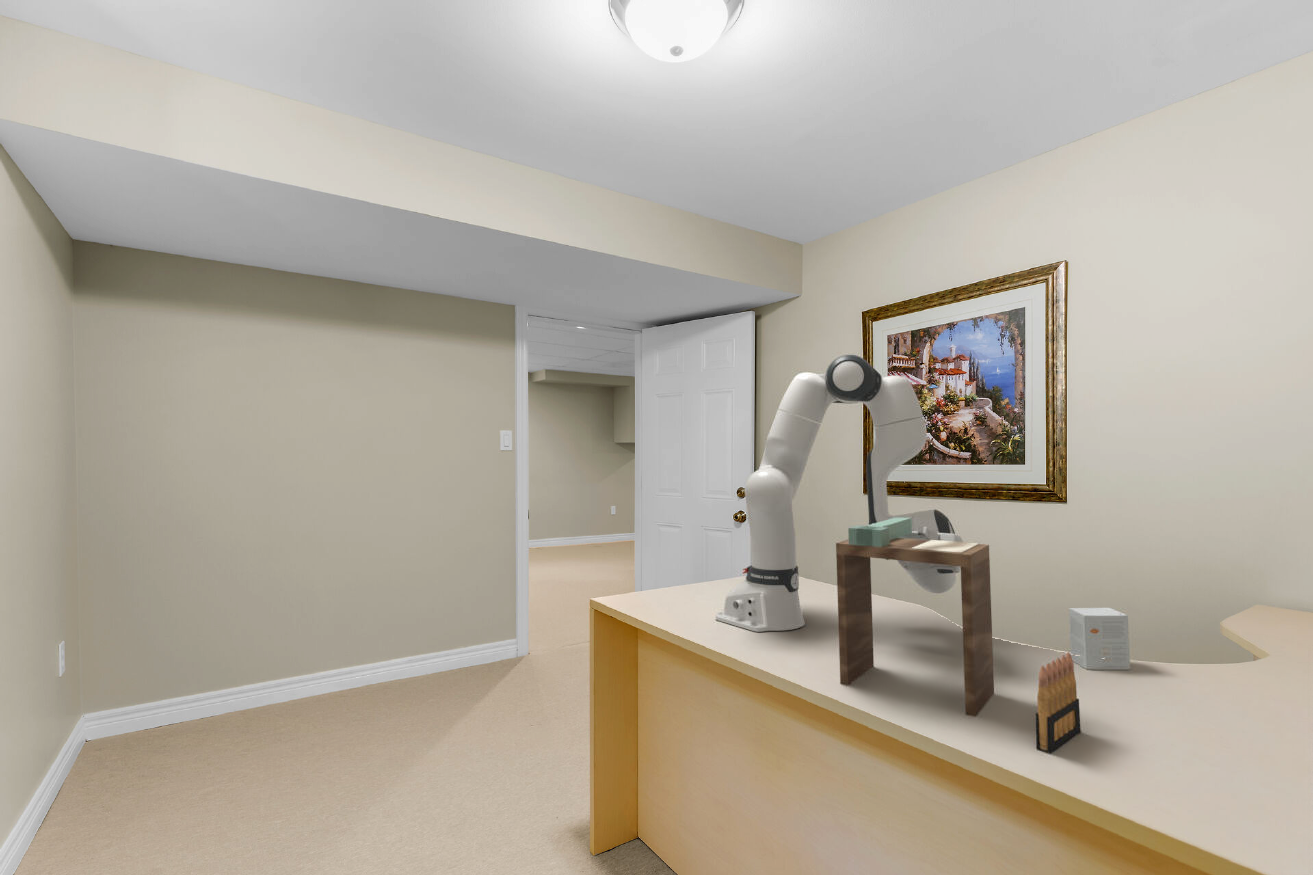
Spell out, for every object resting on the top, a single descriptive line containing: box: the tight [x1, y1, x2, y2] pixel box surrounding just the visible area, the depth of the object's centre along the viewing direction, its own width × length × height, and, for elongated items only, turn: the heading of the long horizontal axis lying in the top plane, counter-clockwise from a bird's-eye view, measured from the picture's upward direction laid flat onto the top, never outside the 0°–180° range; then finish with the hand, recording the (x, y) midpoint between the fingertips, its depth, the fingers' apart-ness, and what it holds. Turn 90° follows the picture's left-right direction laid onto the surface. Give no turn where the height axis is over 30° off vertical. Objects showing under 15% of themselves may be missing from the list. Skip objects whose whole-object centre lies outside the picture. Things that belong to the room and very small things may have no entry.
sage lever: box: [847, 517, 912, 547], centre depth 119 cm, size 6×20×3 cm, turn 139°
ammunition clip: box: [1035, 652, 1082, 754], centre depth 91 cm, size 11×2×12 cm, turn 126°
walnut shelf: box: [835, 538, 995, 718], centre depth 112 cm, size 23×12×26 cm, turn 49°
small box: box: [1068, 607, 1131, 671], centre depth 120 cm, size 8×6×10 cm
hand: (897, 528), depth 124 cm, fingers open, 8 cm apart
